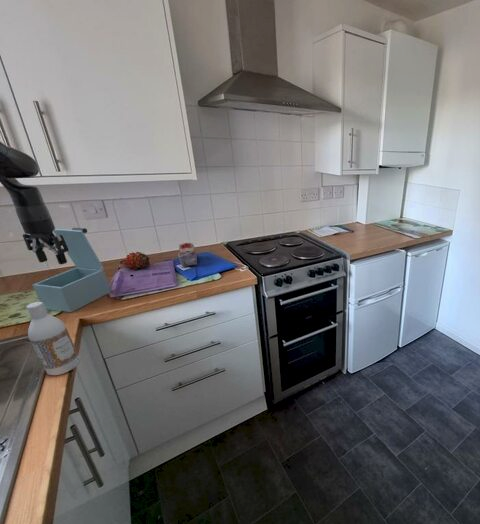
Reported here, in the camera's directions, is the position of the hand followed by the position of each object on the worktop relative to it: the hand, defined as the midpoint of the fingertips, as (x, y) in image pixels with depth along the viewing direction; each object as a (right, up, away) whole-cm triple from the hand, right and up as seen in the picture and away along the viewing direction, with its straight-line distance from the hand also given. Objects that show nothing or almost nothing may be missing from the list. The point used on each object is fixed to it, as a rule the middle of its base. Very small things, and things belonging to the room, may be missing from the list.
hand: (53, 262), depth 106 cm
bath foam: (+27, -29, -24) cm, 46 cm away
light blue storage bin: (+1, -14, +9) cm, 17 cm away
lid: (+2, +5, +7) cm, 9 cm away
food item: (+25, 0, +43) cm, 50 cm away
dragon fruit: (+4, -3, +36) cm, 36 cm away
